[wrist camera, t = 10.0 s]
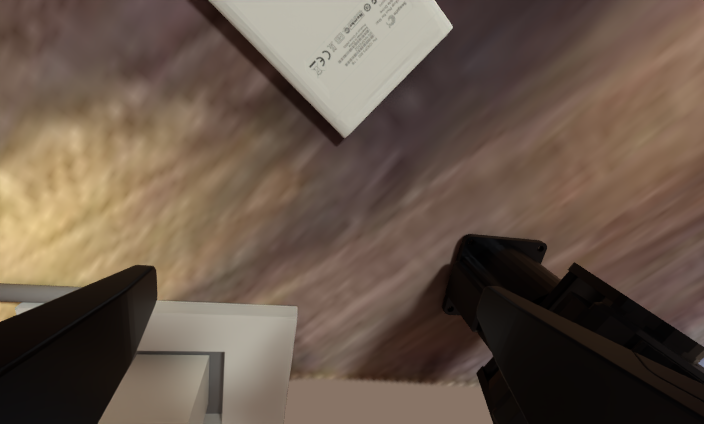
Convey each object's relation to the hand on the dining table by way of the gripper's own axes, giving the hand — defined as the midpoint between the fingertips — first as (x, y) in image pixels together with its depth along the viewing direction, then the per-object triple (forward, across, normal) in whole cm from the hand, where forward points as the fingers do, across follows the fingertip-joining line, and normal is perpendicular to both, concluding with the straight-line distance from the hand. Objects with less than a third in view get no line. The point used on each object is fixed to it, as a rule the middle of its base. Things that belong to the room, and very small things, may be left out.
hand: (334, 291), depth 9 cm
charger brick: (+12, +8, +16) cm, 21 cm away
